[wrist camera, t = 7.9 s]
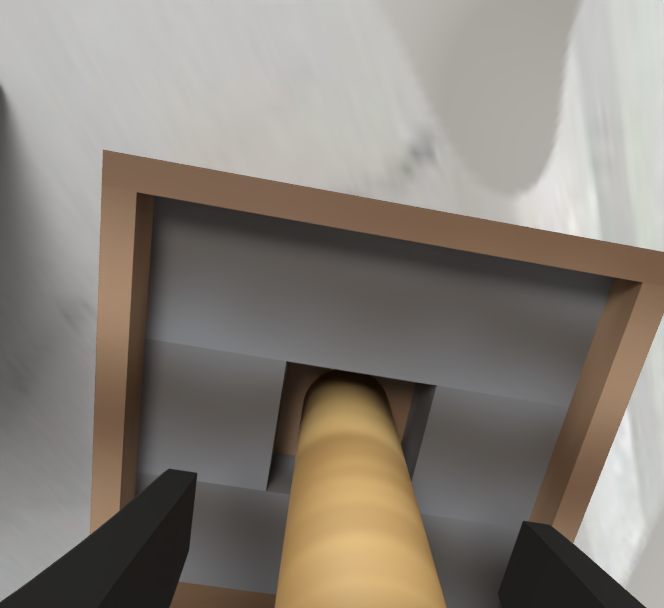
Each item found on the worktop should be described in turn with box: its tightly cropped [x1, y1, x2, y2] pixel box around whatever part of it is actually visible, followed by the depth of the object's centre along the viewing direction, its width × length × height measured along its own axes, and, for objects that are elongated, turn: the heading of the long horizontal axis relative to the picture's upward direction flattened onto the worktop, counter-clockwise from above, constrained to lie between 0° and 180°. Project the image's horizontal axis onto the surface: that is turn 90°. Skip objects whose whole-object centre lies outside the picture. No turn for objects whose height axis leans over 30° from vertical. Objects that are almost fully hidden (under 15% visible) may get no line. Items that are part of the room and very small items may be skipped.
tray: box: [90, 150, 664, 608], centre depth 13 cm, size 14×14×4 cm
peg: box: [275, 369, 447, 608], centre depth 10 cm, size 3×3×8 cm
